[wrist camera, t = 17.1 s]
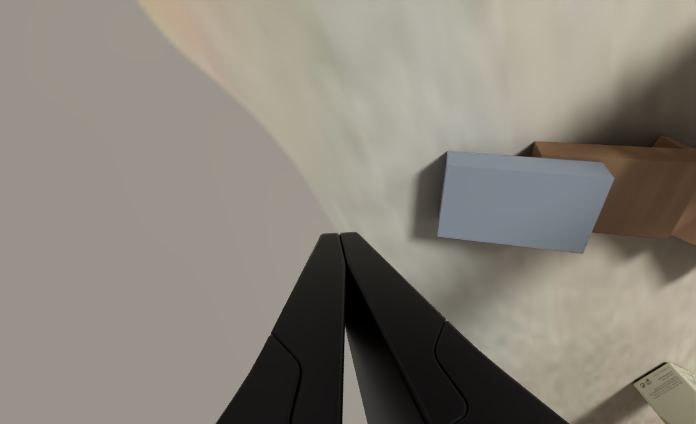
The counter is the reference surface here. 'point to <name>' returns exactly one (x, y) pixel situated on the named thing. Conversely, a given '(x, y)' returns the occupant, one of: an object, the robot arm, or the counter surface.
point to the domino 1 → (522, 200)
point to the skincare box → (670, 394)
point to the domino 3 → (692, 223)
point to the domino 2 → (636, 185)
